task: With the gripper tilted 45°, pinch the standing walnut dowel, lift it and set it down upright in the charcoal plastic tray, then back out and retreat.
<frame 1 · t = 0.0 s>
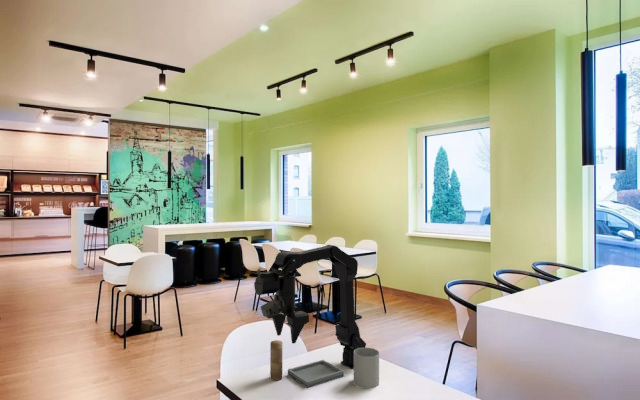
hand: (286, 339, 131), 15 cm above the table, tool pointing down, fingers open, 9 cm apart
cup: (366, 383, 132), on the table
tray: (315, 375, 138), on the table
dowel: (276, 378, 135), on the table
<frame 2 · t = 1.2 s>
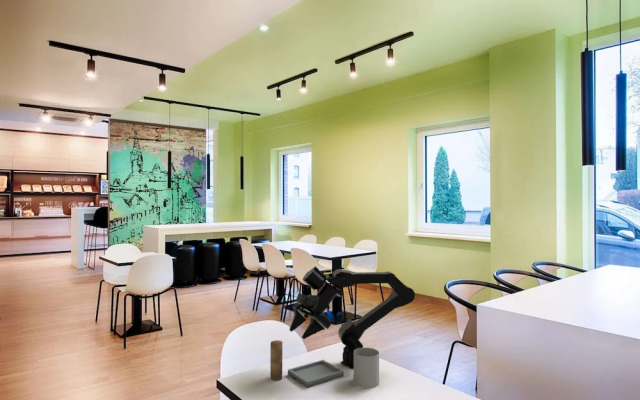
hand: (296, 334, 139), 13 cm above the table, tool tilted 45°, fingers open, 9 cm apart
nothing on the table moved.
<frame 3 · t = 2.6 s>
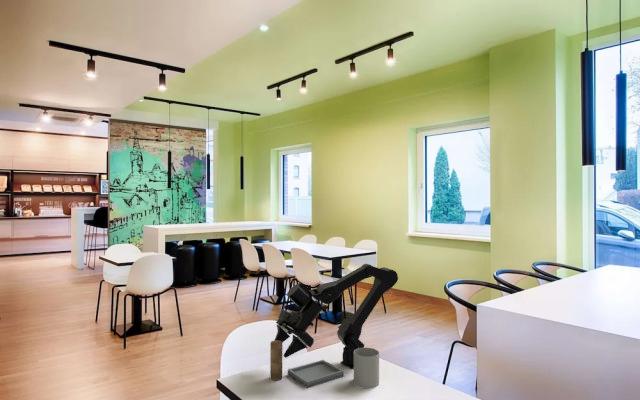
hand: (278, 352, 136), 8 cm above the table, tool tilted 45°, fingers open, 9 cm apart
nothing on the table moved.
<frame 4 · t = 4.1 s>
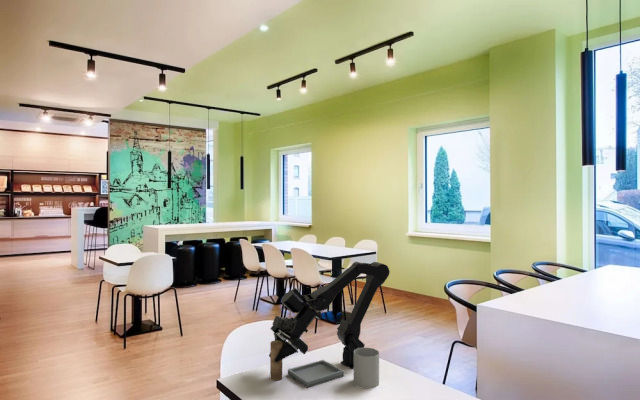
hand: (272, 359, 135), 7 cm above the table, tool tilted 45°, fingers closed on dowel, 4 cm apart
dowel: (276, 378, 135), on the table, touching gripper
everything else where it was.
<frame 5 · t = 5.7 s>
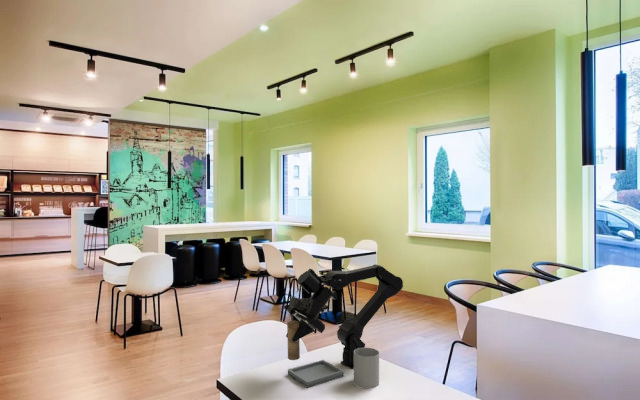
hand: (289, 339, 136), 13 cm above the table, tool tilted 45°, fingers closed on dowel, 4 cm apart
dowel: (293, 357, 136), point 6 cm above the table, touching gripper
everything else where it was.
when the fingers open (9 cm above the table, at t = 7.6 s): dowel drops 1 cm, resting on tray.
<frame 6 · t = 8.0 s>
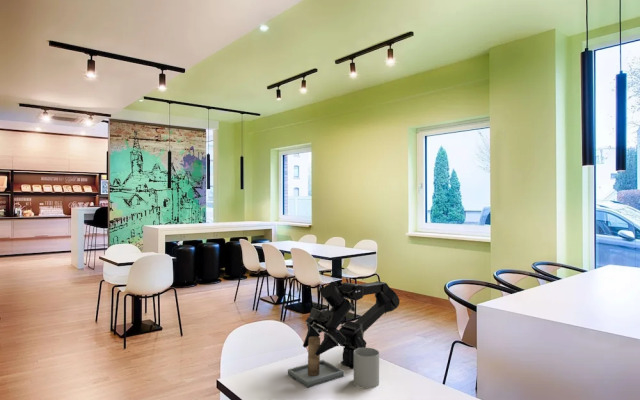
hand: (309, 350, 136), 9 cm above the table, tool tilted 45°, fingers open, 8 cm apart
dowel: (313, 373, 137), point 1 cm above the table, touching tray
everything else where it was.
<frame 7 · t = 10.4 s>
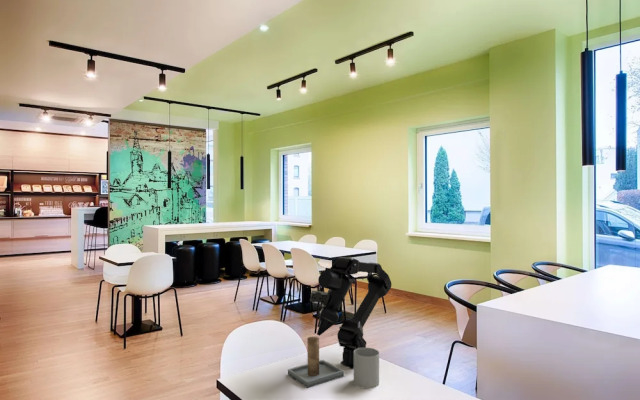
hand: (318, 330, 142), 14 cm above the table, tool tilted 25°, fingers open, 9 cm apart
nothing on the table moved.
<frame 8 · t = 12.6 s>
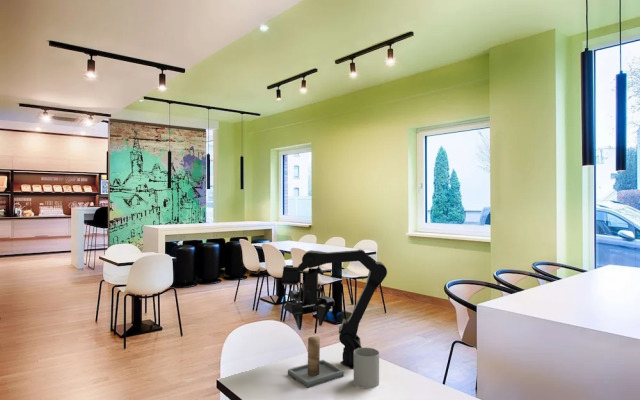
hand: (310, 327, 148), 13 cm above the table, tool pointing down, fingers open, 9 cm apart
nothing on the table moved.
at the end: dowel inside the target area on the tray (0.9 cm from its centre), point 0.8 cm above the tray's base; dowel tilted 1°; the gripper is holding nothing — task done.
